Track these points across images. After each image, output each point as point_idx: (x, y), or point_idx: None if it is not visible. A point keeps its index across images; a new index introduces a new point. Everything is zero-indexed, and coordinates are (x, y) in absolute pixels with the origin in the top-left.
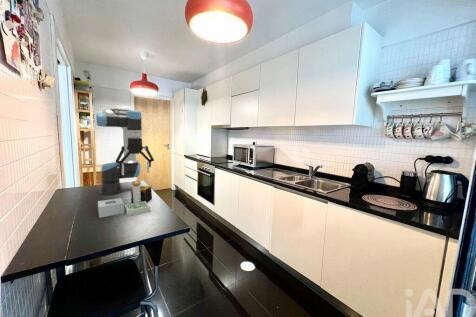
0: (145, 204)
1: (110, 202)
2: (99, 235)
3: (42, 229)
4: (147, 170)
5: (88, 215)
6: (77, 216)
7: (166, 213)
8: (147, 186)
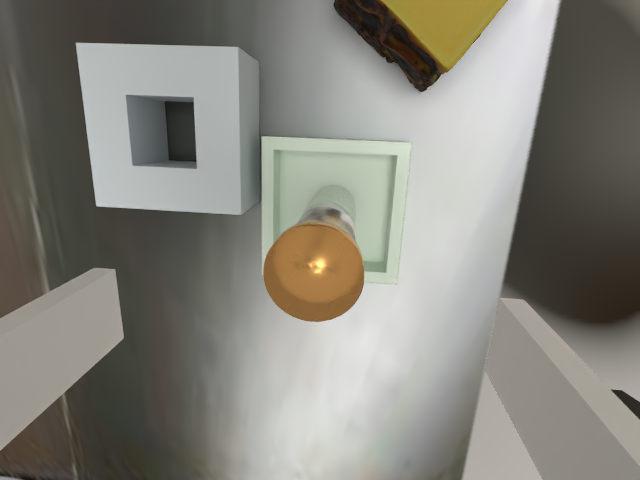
0: (392, 197)
1: (166, 97)
2: (150, 395)
3: None
4: (508, 358)
5: (81, 113)
6: (28, 94)
7: (459, 346)
8: None
